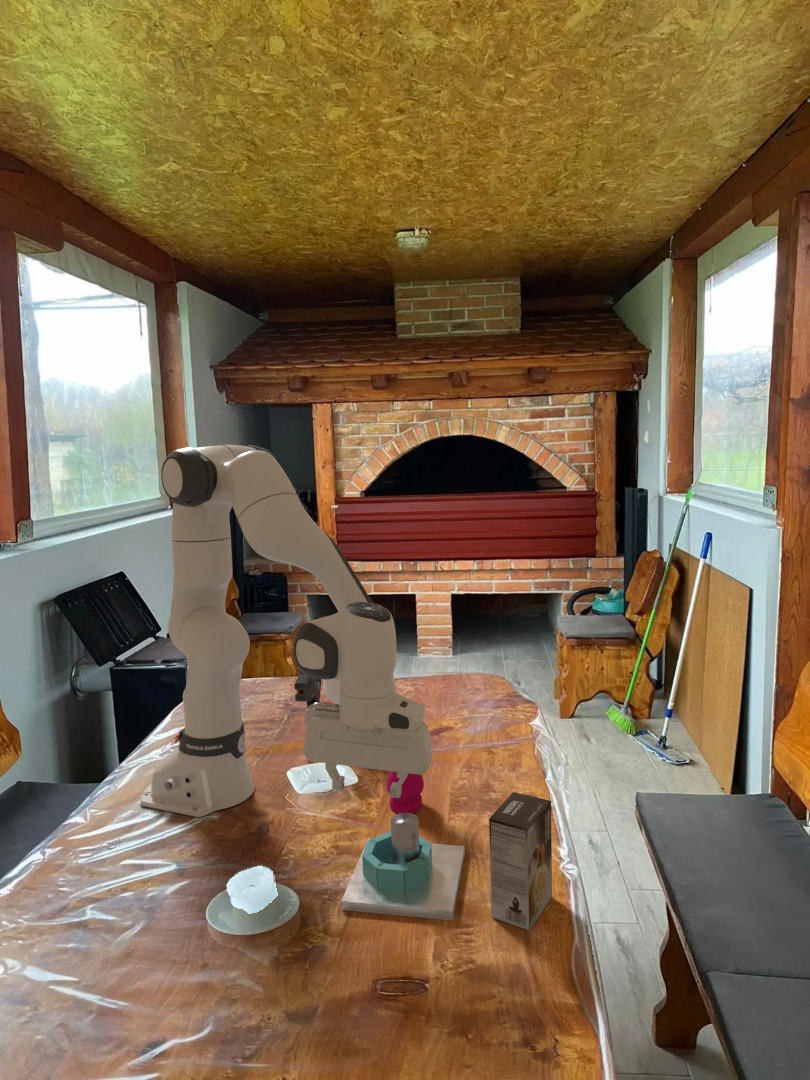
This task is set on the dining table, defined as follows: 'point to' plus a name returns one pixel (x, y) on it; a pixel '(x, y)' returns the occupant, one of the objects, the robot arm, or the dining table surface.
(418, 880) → the ring
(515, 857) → the coffee box
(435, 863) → the post stand
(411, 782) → the pepper mill
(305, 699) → the gun
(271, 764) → the dining table surface
